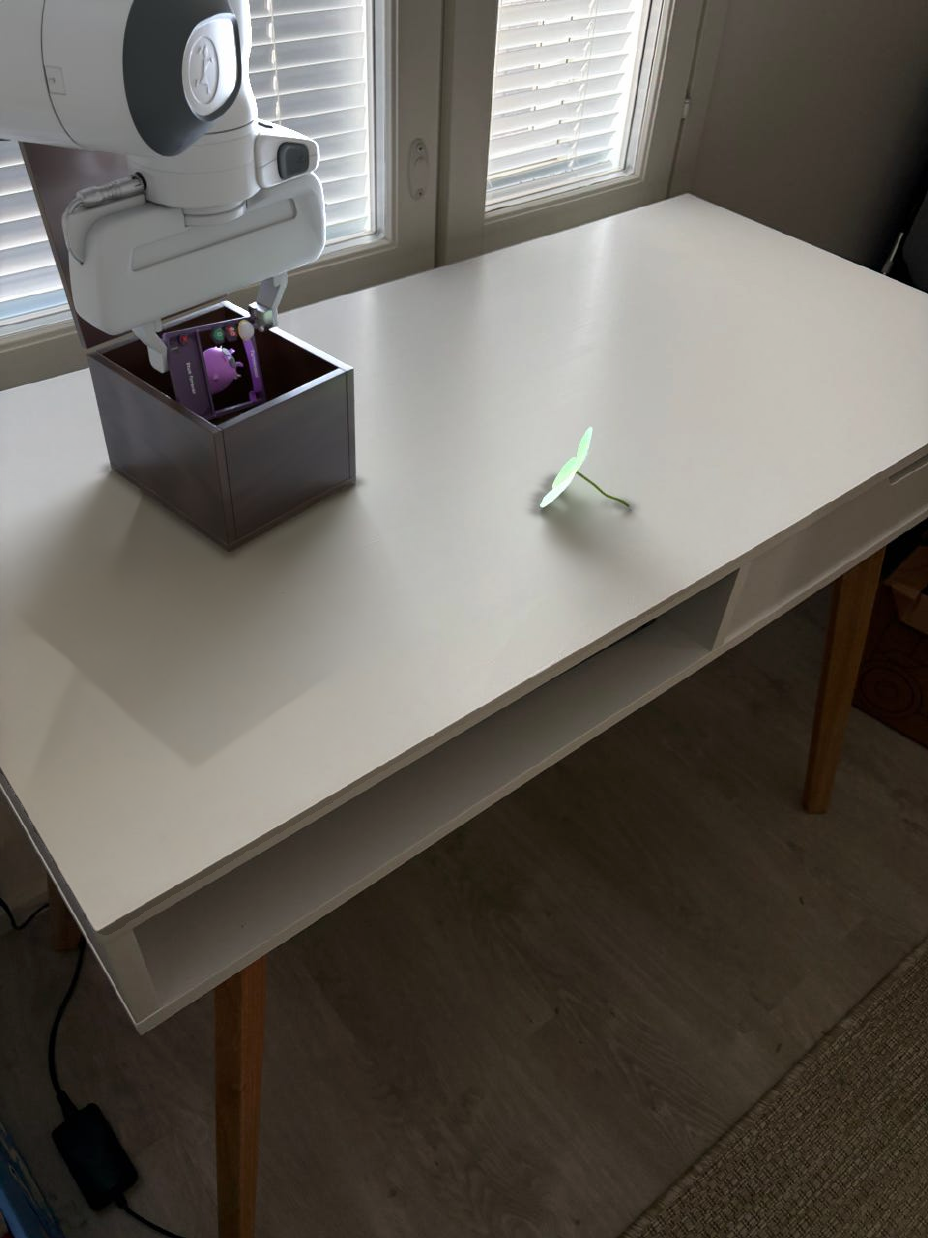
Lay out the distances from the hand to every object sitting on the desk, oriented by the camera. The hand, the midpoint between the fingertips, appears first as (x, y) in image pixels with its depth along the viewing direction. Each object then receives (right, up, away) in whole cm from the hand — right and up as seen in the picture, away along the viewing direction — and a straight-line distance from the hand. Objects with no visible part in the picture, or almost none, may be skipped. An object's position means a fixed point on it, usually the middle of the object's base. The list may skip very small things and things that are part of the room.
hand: (216, 346), depth 77 cm
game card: (-1, -4, +2) cm, 5 cm away
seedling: (+29, -11, +8) cm, 32 cm away
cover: (-6, +10, -1) cm, 11 cm away
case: (-1, -9, +8) cm, 12 cm away
